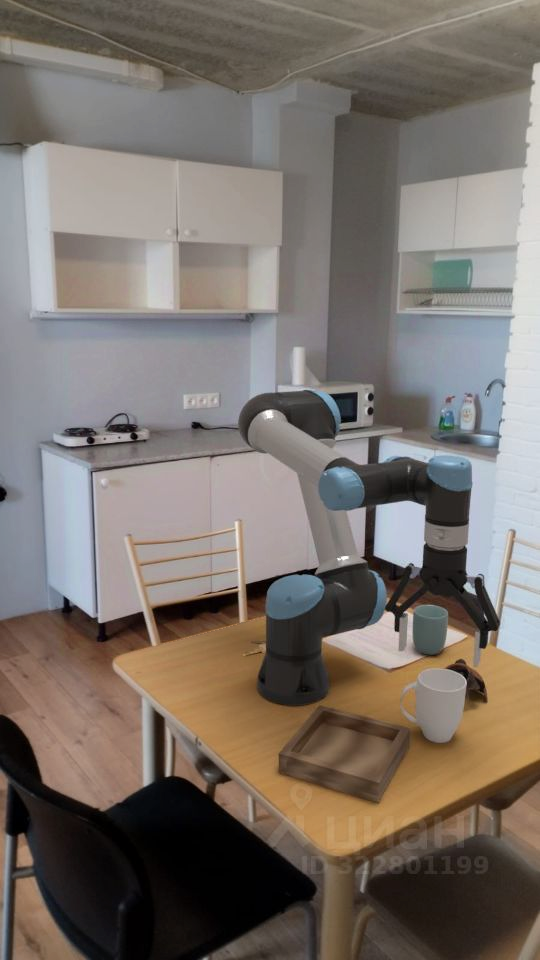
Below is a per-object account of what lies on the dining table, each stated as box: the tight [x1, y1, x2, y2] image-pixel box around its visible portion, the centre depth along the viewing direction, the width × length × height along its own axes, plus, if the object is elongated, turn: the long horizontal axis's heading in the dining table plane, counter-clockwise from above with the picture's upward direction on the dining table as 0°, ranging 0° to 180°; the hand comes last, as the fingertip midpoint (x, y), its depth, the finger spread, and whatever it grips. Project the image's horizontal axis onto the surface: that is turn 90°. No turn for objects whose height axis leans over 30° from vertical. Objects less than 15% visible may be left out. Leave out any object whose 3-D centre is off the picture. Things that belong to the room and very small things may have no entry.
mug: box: [399, 667, 467, 744], centre depth 141 cm, size 12×9×12 cm
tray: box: [277, 704, 411, 804], centre depth 135 cm, size 18×18×4 cm
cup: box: [411, 604, 449, 656], centre depth 176 cm, size 8×8×10 cm
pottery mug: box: [443, 658, 489, 703], centre depth 157 cm, size 12×10×8 cm
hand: (438, 656), depth 138 cm, fingers open, 13 cm apart
